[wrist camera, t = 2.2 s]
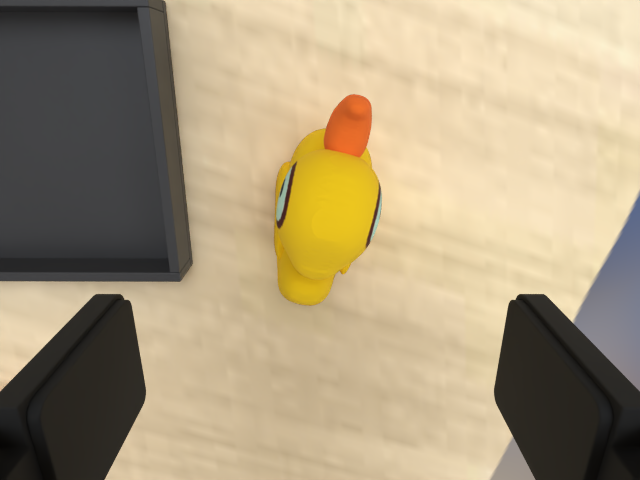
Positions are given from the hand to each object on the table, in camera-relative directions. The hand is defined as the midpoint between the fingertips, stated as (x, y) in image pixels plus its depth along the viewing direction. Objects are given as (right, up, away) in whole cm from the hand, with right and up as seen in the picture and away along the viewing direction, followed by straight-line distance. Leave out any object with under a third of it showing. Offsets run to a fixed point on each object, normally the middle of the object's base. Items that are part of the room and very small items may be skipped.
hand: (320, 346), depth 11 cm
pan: (-18, +8, +16) cm, 25 cm away
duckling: (0, +6, +17) cm, 18 cm away
